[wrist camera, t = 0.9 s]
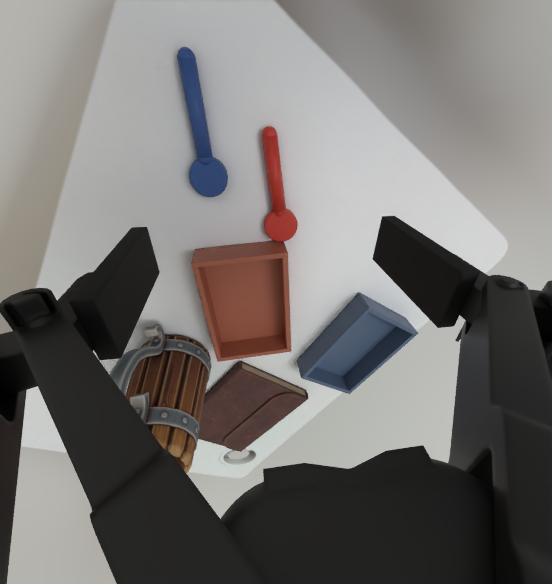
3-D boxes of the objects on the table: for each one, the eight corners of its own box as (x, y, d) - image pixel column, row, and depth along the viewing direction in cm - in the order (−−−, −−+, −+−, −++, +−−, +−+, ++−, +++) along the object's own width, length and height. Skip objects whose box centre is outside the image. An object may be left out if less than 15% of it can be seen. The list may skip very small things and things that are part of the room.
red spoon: (248, 129, 25) (249, 130, 24) (286, 123, 25) (289, 123, 24) (267, 240, 31) (268, 245, 30) (297, 235, 32) (299, 240, 30)
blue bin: (359, 292, 38) (369, 307, 35) (405, 317, 42) (418, 333, 39) (296, 360, 44) (301, 378, 41) (342, 377, 48) (349, 394, 45)
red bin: (195, 248, 31) (191, 263, 28) (282, 239, 32) (287, 252, 29) (218, 343, 40) (217, 361, 37) (287, 334, 40) (291, 351, 37)
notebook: (175, 423, 49) (172, 434, 47) (239, 360, 42) (239, 370, 40) (241, 442, 56) (242, 452, 54) (306, 390, 49) (309, 400, 47)
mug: (219, 374, 43) (213, 480, 31) (153, 387, 43) (121, 498, 31) (189, 296, 34) (164, 401, 22) (106, 311, 34) (33, 426, 22)
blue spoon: (162, 50, 21) (158, 46, 20) (208, 47, 22) (207, 44, 20) (195, 196, 28) (193, 199, 27) (230, 193, 28) (229, 196, 27)
